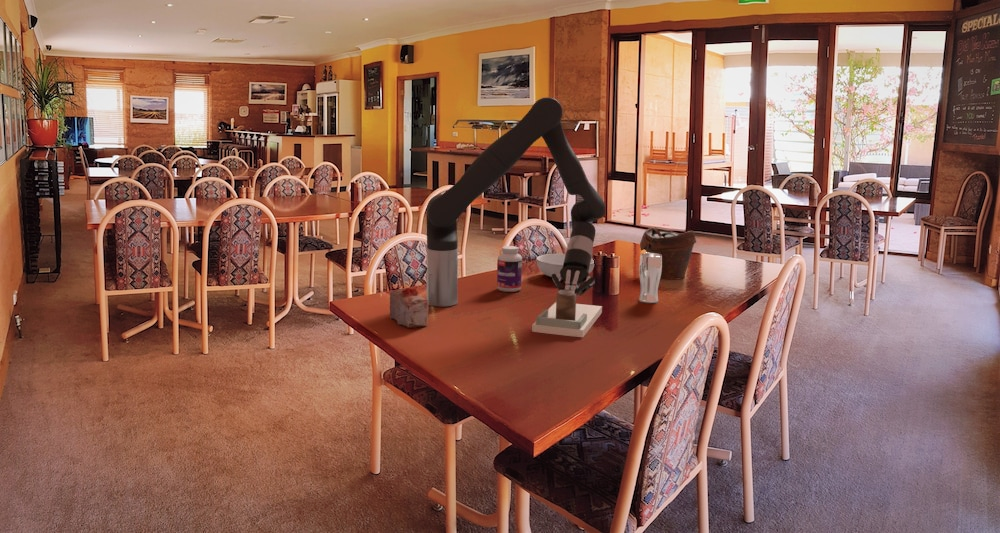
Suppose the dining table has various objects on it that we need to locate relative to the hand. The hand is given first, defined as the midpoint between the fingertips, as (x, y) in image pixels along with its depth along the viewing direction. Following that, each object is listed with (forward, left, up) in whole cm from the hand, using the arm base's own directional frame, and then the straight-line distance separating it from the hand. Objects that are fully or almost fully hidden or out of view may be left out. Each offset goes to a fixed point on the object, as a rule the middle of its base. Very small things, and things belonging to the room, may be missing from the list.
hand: (567, 305), depth 203 cm
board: (+1, +2, -5) cm, 6 cm away
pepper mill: (-1, -3, -3) cm, 5 cm away
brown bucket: (+54, +55, -6) cm, 77 cm away
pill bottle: (-8, +41, -6) cm, 42 cm away
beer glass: (+33, +21, -6) cm, 40 cm away
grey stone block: (-44, +7, -6) cm, 45 cm away
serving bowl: (+16, +57, -6) cm, 60 cm away
